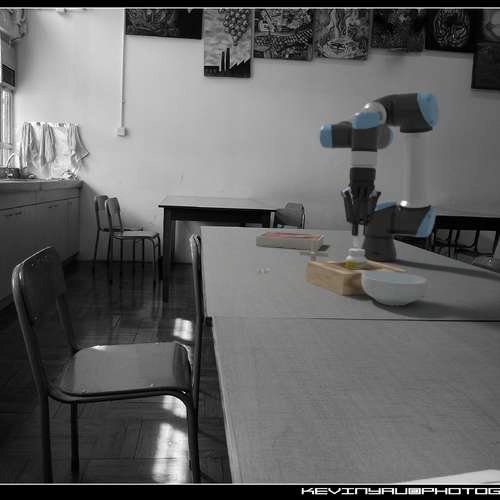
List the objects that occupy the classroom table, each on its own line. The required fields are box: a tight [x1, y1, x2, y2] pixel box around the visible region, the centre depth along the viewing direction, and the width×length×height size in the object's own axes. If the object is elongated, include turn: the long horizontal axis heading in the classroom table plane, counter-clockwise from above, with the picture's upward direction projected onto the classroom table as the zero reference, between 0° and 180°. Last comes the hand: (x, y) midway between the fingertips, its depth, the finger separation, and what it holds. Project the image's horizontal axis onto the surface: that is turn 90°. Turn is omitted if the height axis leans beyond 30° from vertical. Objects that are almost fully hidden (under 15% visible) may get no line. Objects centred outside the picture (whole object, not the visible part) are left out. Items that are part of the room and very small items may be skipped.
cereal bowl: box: [361, 271, 428, 307], centre depth 136 cm, size 17×17×7 cm
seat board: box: [306, 259, 408, 296], centre depth 155 cm, size 22×20×6 cm
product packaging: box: [255, 231, 325, 251], centre depth 242 cm, size 22×28×5 cm
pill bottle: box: [345, 248, 367, 268], centre depth 155 cm, size 6×6×11 cm
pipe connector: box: [299, 240, 329, 262], centre depth 183 cm, size 10×10×10 cm
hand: (357, 246), depth 154 cm, fingers closed
